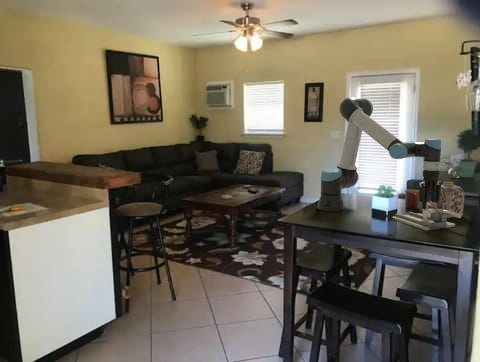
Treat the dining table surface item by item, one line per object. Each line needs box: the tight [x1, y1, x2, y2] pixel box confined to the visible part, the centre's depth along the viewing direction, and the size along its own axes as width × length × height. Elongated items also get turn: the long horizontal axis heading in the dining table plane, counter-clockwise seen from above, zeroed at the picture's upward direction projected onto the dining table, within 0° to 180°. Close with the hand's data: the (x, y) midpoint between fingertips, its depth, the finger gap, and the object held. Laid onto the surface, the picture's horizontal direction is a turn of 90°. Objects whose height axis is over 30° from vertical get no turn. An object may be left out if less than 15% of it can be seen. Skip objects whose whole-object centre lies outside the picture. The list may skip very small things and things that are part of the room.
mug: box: [404, 188, 420, 210], centre depth 224 cm, size 12×9×10 cm
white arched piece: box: [421, 202, 463, 222], centre depth 189 cm, size 21×10×7 cm, turn 20°
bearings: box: [430, 212, 448, 222], centre depth 192 cm, size 7×3×6 cm, turn 20°
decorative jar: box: [430, 181, 465, 219], centre depth 208 cm, size 12×12×18 cm
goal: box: [420, 218, 447, 231], centre depth 186 cm, size 6×10×3 cm, turn 110°
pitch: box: [391, 211, 456, 231], centre depth 195 cm, size 23×18×3 cm
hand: (428, 214), depth 197 cm, fingers closed on white arched piece, 4 cm apart
